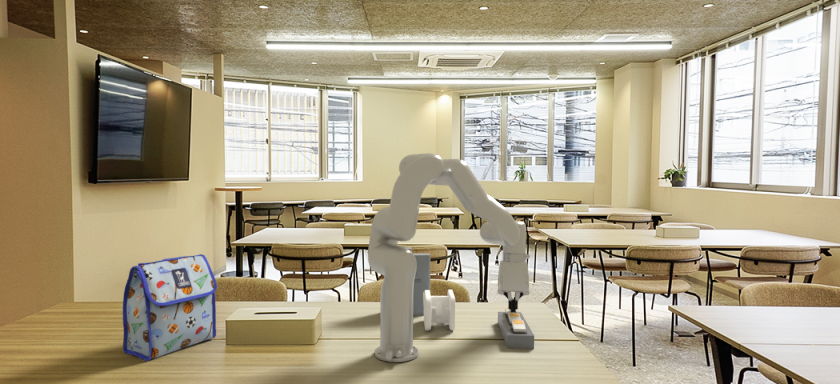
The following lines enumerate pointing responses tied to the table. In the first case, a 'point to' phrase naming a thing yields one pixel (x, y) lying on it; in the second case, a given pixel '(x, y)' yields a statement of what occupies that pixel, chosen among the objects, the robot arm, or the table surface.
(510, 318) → the middle rocker
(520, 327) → the plate
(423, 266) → the blue-grey tall flat block
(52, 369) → the table surface
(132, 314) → the lunch bag
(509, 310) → the far rocker
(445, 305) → the cable organizer
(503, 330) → the power strip
